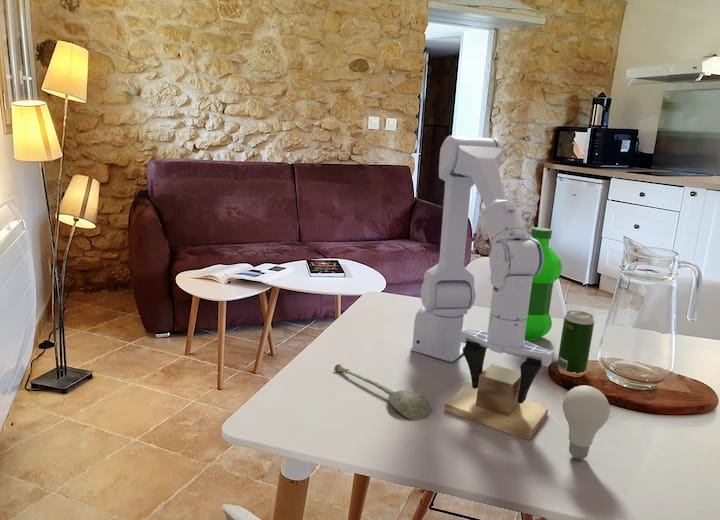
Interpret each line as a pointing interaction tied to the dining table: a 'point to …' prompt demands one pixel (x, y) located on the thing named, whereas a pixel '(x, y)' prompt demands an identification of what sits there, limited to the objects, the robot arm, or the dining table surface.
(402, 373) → the dining table surface
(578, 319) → the beer can
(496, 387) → the tan cube
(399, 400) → the soupspoon
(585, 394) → the lightbulb
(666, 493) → the dining table surface
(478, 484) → the dining table surface
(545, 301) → the plastic bottle
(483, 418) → the oak board
